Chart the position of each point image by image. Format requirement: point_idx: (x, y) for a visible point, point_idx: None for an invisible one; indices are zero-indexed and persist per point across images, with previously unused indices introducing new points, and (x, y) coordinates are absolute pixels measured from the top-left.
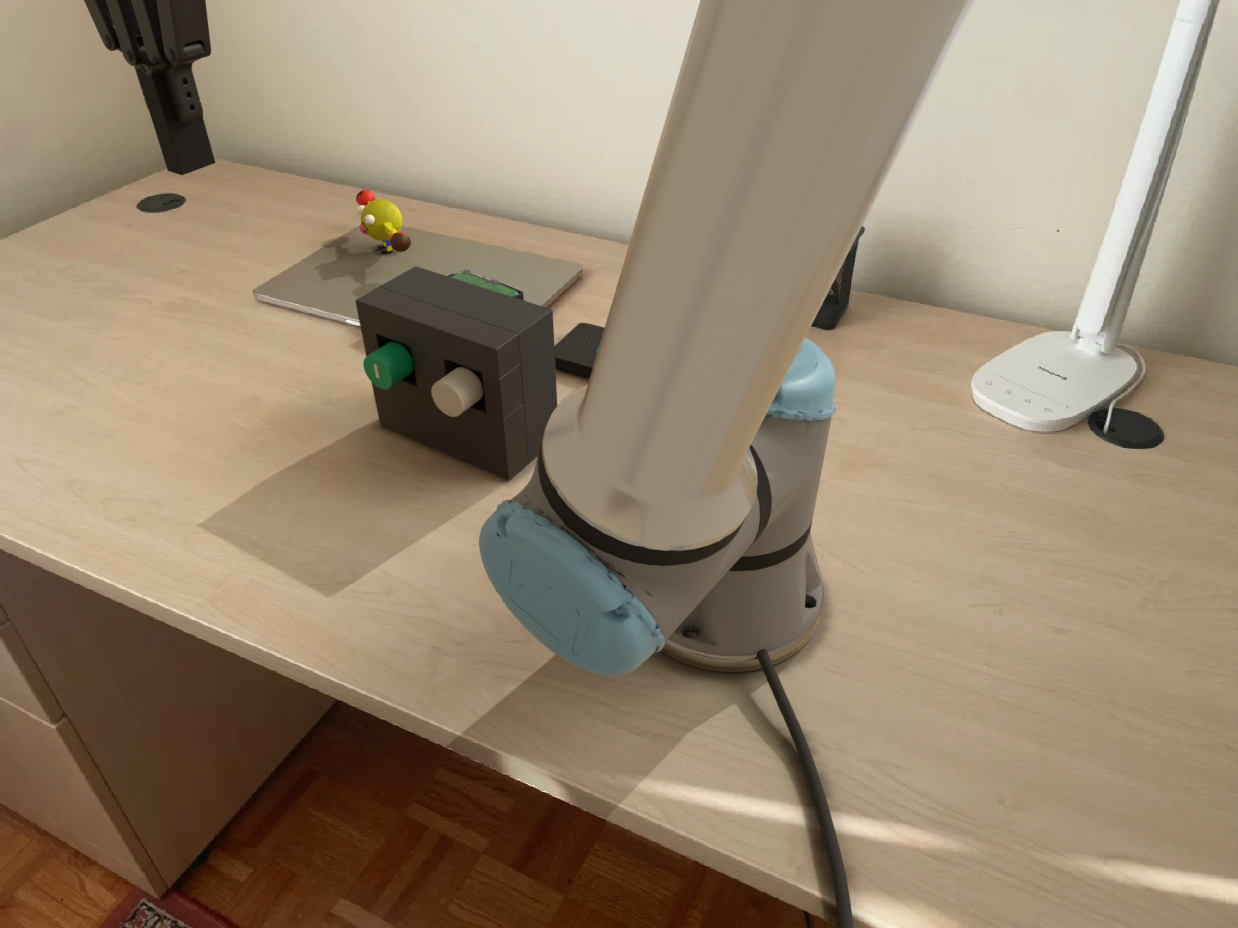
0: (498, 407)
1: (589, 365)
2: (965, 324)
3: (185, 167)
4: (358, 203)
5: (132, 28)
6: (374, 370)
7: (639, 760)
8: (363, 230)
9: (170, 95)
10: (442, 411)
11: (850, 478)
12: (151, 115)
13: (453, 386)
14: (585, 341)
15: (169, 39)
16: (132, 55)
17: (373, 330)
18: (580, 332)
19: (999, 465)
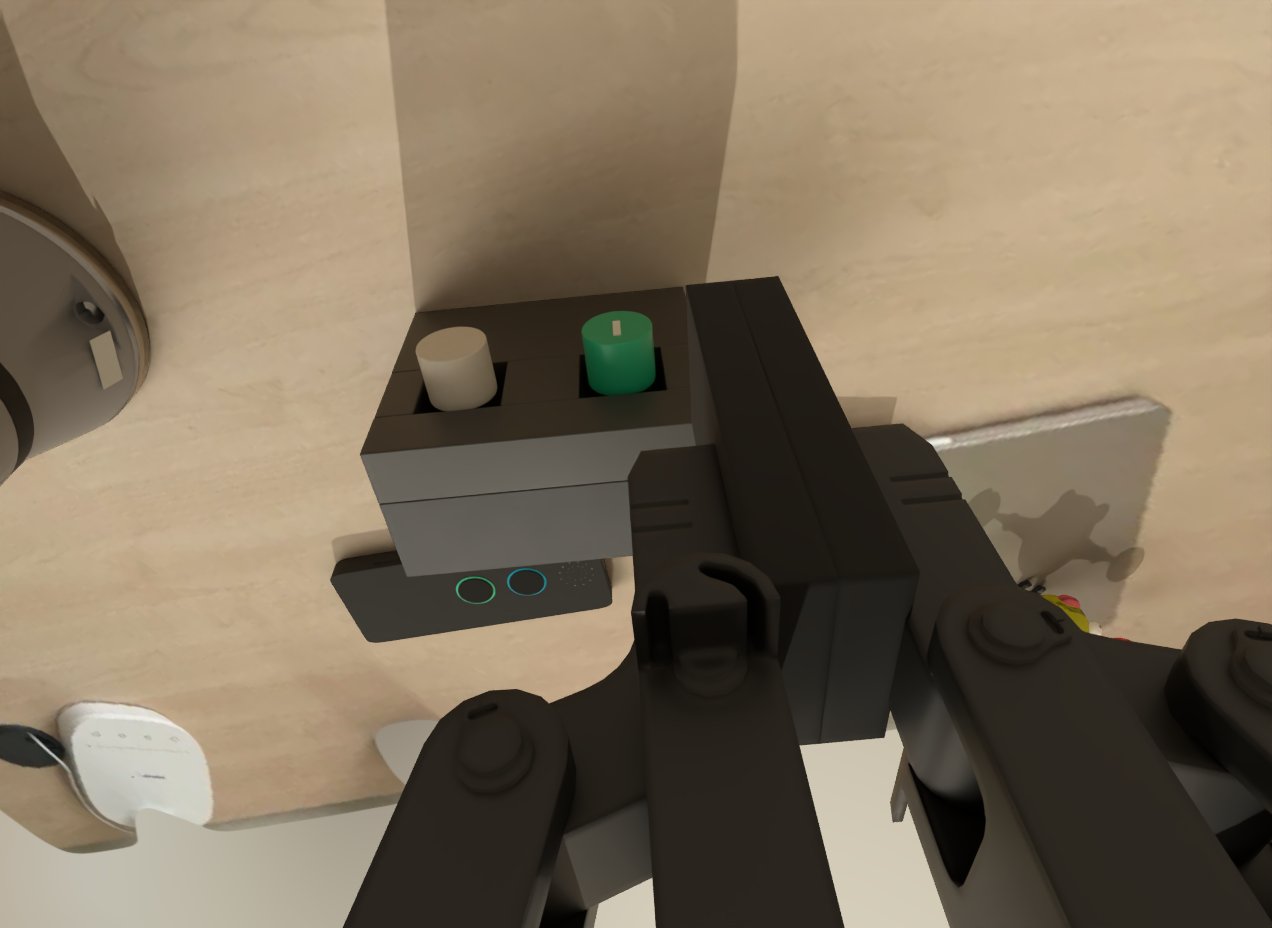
0: (394, 383)
1: None
2: (278, 796)
3: (689, 319)
4: (1126, 640)
5: (1009, 851)
6: (622, 327)
7: None
8: (1066, 599)
9: (709, 531)
10: (468, 327)
11: (121, 556)
12: (832, 403)
13: (430, 364)
14: (571, 579)
15: (445, 871)
16: (962, 645)
17: (671, 392)
18: (593, 589)
19: (43, 650)
